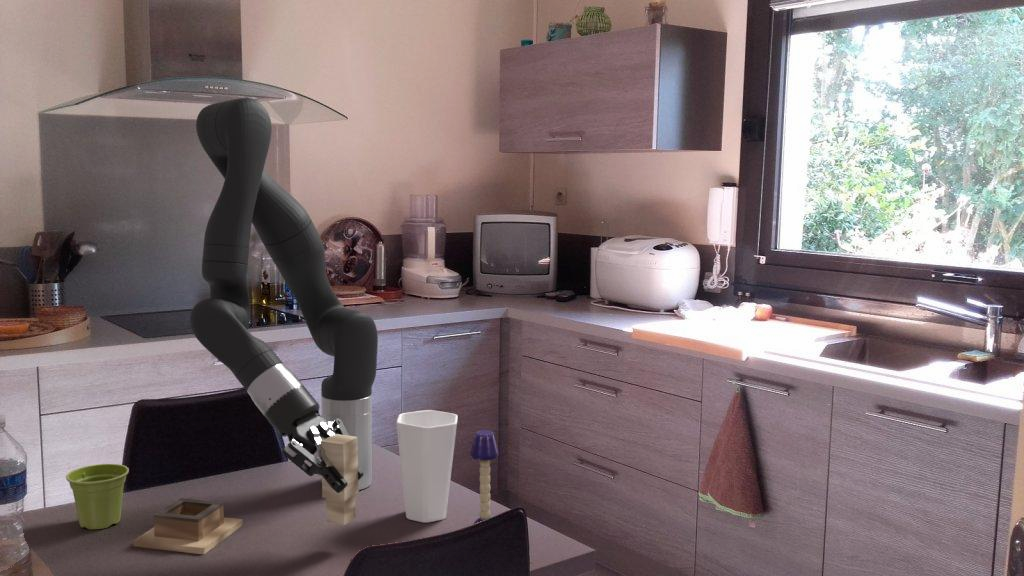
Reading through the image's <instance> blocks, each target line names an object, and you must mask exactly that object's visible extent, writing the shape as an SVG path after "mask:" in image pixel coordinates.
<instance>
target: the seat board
mask: <svg viewBox="0 0 1024 576" xmlns="http://www.w3.org/2000/svg"><path fill="white" fill-rule="evenodd" d="M224 514H225V513H224V502H223V501H222V502H221V501H215V500H214V501H212V500H205V499H204V500H203V499H202V500H201V499H192V498H184V497H182V498H179V499H177V500H176V501H174V502H172V503H171V504H169V505H167V506H166V507H164V508H162V509H161V510H160V511H158V512H156V513H154V514H153V527H152V528H150V529H149V530H148V531H145V532H144V533H143V534H141V535H139V536H138V537H136V538H134V539H133V540H132V541H133V544H132V545H133V547H134V548H144V549H151V550H152V549H153V550H161V551H170V552H180V553H188V554H198V555H205V554H207V553H208V552H210V550H212V549H213V548H215V547H216V546H218V545H219V544H220V543H222V542H223V541H224V540H225V539H227V538H228V537H230V535H232V534H233V533H235V532H236V531H238V530H239V529H240V528H241V527H242V526H244V522H243V521H244V520H243V519H241V518H232V517H224V516H225V515H224Z"/></svg>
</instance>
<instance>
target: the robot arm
mask: <svg viewBox="0 0 1024 576" xmlns="http://www.w3.org/2000/svg"><path fill="white" fill-rule="evenodd" d="M195 126H196V127H195V129H196V134H197V137H198V140H199V142H200V145H201V147H202V148H203V150H204V152H205V153H206V155H207V156H208V158H209V159H210V161H211V162H212V164H214V166H215V168H216V169H217V171H219V173H220V174H221V175H222V177H223V178H224V181H223V185H222V187H221V191H220V193H219V195H218V198H217V200H216V202H215V205H214V207H213V210H212V211H211V213H210V216H209V218H208V222H207V225H206V227H205V231H204V238H203V248H202V249H203V250H202V260H201V261H202V263H201V276H202V278H203V280H204V281H205V282H206V283H208V286H209V288H210V290H209V291H210V297H209V298H205V299H203V300H200V301H198V302H197V303H196V304H194V306H193V308H192V309H191V311H190V314H189V325H190V328H191V330H192V331H191V332H192V333H193V334H194V337H195V338H196V339H197V340H198V342H199V343H200V344H201V345H202V346H203V347H204V348H205V349H206V350H207V351H208V352H209V353H211V354H212V355H213V356H214V357H215V358H216V359H217V360H218V361H219V362H221V363H222V364H223V365H224V366H225V367H226V368H228V369H229V370H230V371H231V372H232V374H233V376H234V377H235V379H236V380H238V382H239V383H240V384H241V385H242V387H243V388H244V389H245V390H246V392H247V394H248V395H249V396H250V399H251V400H252V402H253V403H254V405H255V406H256V407H257V409H258V410H259V411H260V412H261V413H262V415H263V416H264V417H265V419H267V420H266V421H268V422H269V424H270V425H271V426H272V427H273V429H274V430H275V431H276V432H277V434H278V435H279V436H280V437H283V438H284V437H287V438H288V444H287V445H286V446H284V448H283V449H282V450H281V454H282V455H283V456H284V457H285V458H287V459H288V460H289V461H290V462H291V463H293V464H294V465H295V466H296V467H298V468H299V469H300V470H301V471H303V472H304V473H305V474H306V475H308V476H309V477H313V476H314V475H318V476H321V477H322V476H323V478H324V479H325V480H326V481H327V483H329V485H330V486H331V488H332V489H333V490H335V491H336V492H337V493H340V492H341V491H342V490H343V489H345V488H346V487H347V485H348V483H347V481H346V480H345V479H344V478H343V477H342V476H341V474H340V473H339V472H338V471H337V469H336V468H335V467H334V466H332V467H331V465H332V464H331V462H330V460H329V459H328V457H327V456H326V455H325V449H324V448H323V447H322V446H321V441H322V440H324V439H326V438H328V437H330V436H332V435H334V434H340V435H348V436H355V437H357V439H358V486H359V491H360V490H364V489H366V488H368V487H370V486H371V485H372V481H373V480H372V464H373V463H372V459H373V457H372V455H373V454H372V453H373V452H372V451H373V450H372V447H373V445H372V444H373V443H372V442H373V441H372V440H373V439H372V433H373V432H372V427H373V425H372V422H373V420H372V419H373V417H372V416H373V415H372V413H373V411H372V409H373V408H372V406H373V405H372V404H373V402H372V400H373V399H372V397H373V396H372V391H373V390H372V389H373V388H372V387H373V385H374V382H375V380H376V378H377V377H376V376H377V366H378V365H377V362H378V343H379V342H378V329H377V326H376V323H375V321H374V319H373V318H372V316H370V315H369V314H368V313H366V312H363V311H360V310H356V309H355V310H354V309H349V308H346V307H345V306H344V305H343V303H342V301H340V299H339V297H338V296H337V294H336V292H335V291H334V289H333V288H332V286H331V284H330V281H329V278H328V274H327V268H326V251H325V247H324V242H323V240H322V238H321V235H320V234H319V231H318V230H317V227H316V226H315V224H314V222H313V220H312V218H311V216H310V215H309V213H308V212H307V210H306V209H305V207H304V206H303V205H302V204H301V203H300V202H299V201H298V200H297V199H296V198H295V197H294V196H293V195H292V194H290V193H289V192H288V191H287V190H286V189H284V188H283V187H282V186H281V185H279V183H278V182H277V181H275V180H274V178H272V177H271V176H270V174H269V173H268V172H267V171H266V170H265V164H266V160H267V157H268V153H269V149H270V143H271V140H272V138H271V137H272V129H273V128H272V120H271V116H270V114H269V112H268V110H267V109H266V107H265V106H264V105H263V104H262V103H260V102H259V101H257V100H256V99H253V98H250V97H239V98H233V99H229V100H225V101H224V100H223V101H221V102H220V101H219V102H215V103H212V104H208V105H206V106H204V107H203V108H201V110H200V111H199V113H198V115H197V117H196V122H195ZM252 225H253V228H254V229H255V231H256V234H257V235H258V237H259V239H260V240H261V242H262V244H263V246H264V248H265V249H266V251H267V253H268V255H269V256H270V258H271V260H272V262H273V264H274V265H275V266H276V268H277V270H278V272H279V273H280V275H281V277H282V279H283V280H284V282H285V284H286V285H287V288H288V289H289V291H290V293H291V295H292V296H293V297H294V299H295V301H296V303H297V305H298V308H299V309H300V312H301V313H302V316H303V317H302V318H303V319H304V321H305V324H306V326H307V328H308V331H309V333H310V335H311V337H312V339H313V341H314V343H315V345H316V346H317V348H318V349H319V350H320V351H321V352H322V353H324V354H326V355H328V356H330V357H333V372H332V374H331V376H330V375H329V376H327V377H325V378H323V380H322V382H321V388H320V391H321V393H320V394H321V395H320V397H321V398H320V400H321V401H320V402H321V406H320V404H319V403H318V402H317V400H316V399H315V397H314V396H313V395H312V394H311V393H310V391H308V389H307V388H306V387H305V386H304V384H303V382H301V380H299V378H298V377H297V376H296V374H295V373H294V372H293V371H292V370H291V369H290V368H288V366H286V364H285V363H284V362H283V361H282V360H281V359H280V357H279V356H278V355H277V354H276V352H275V351H274V350H273V349H272V347H270V345H269V344H268V343H266V342H265V341H263V340H262V339H260V338H258V337H256V336H254V335H253V334H252V333H251V331H249V327H250V324H251V315H252V309H251V301H250V300H251V299H250V298H251V297H250V291H249V290H250V289H249V284H248V277H247V274H248V265H249V253H250V241H251V232H252ZM320 408H321V409H320ZM320 410H321V415H320ZM305 461H306V462H305ZM321 461H322V462H321ZM307 463H308V464H309V465H308V464H307Z"/></svg>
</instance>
